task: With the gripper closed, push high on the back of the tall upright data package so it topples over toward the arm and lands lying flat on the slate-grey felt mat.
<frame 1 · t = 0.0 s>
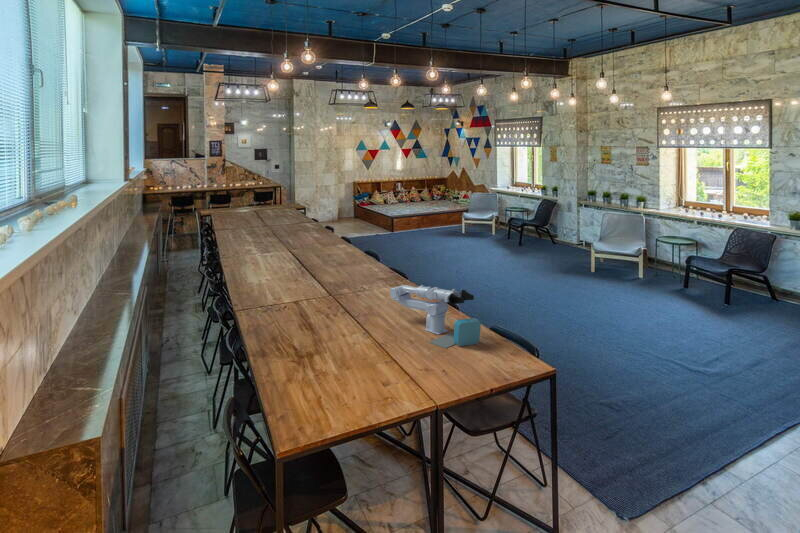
hand: (468, 299, 243), 22 cm above the table, tool horizontal, fingers open, 7 cm apart
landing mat: (452, 338, 251), on the table
data package: (466, 343, 245), on the table, touching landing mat
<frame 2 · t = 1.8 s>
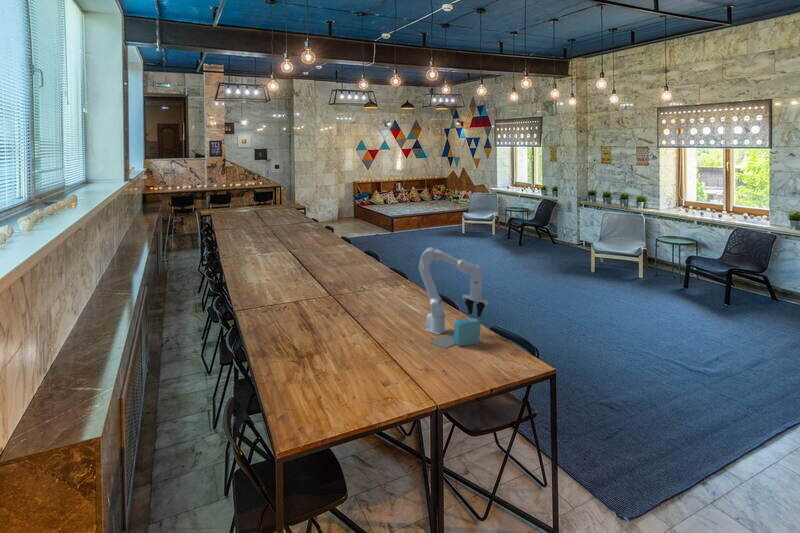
hand: (474, 315, 255), 10 cm above the table, tool pointing down, fingers open, 5 cm apart
nothing on the table moved.
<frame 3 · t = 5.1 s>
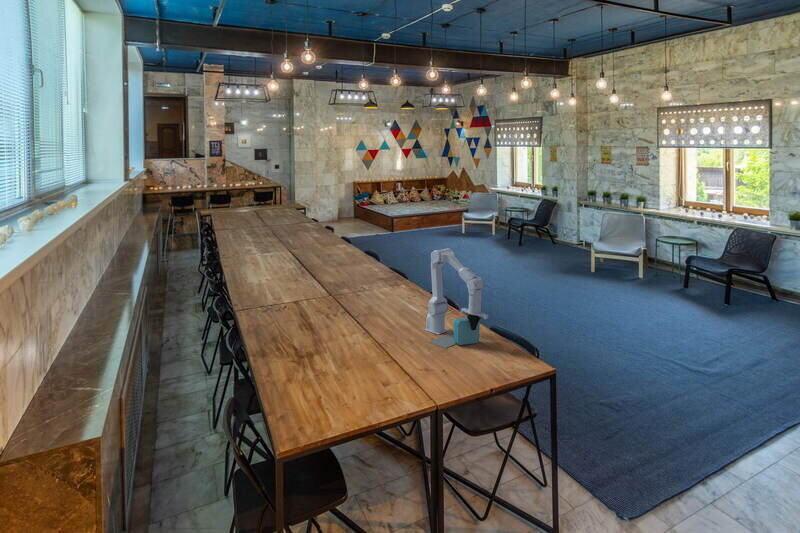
hand: (473, 329, 240), 8 cm above the table, tool pointing down, fingers closed
data package: (466, 343, 245), on the table, touching gripper, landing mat
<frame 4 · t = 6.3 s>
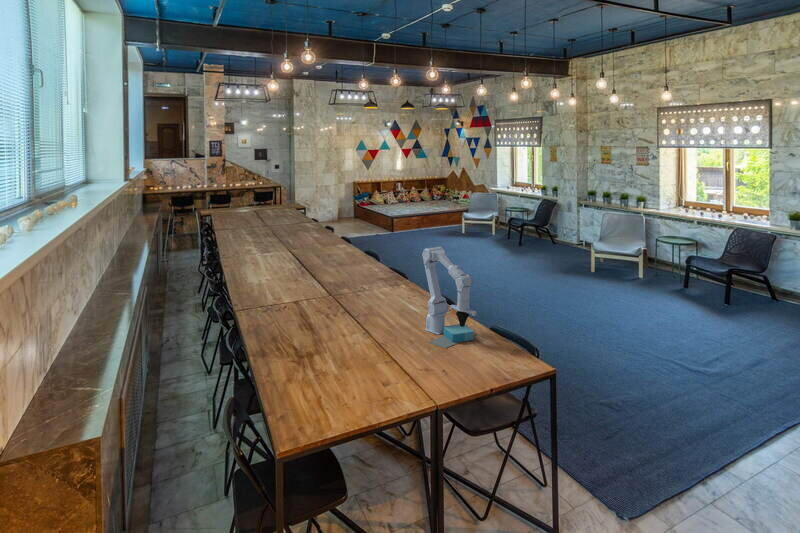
hand: (462, 326, 245), 8 cm above the table, tool pointing down, fingers closed
data package: (464, 337, 246), point 3 cm above the table, touching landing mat
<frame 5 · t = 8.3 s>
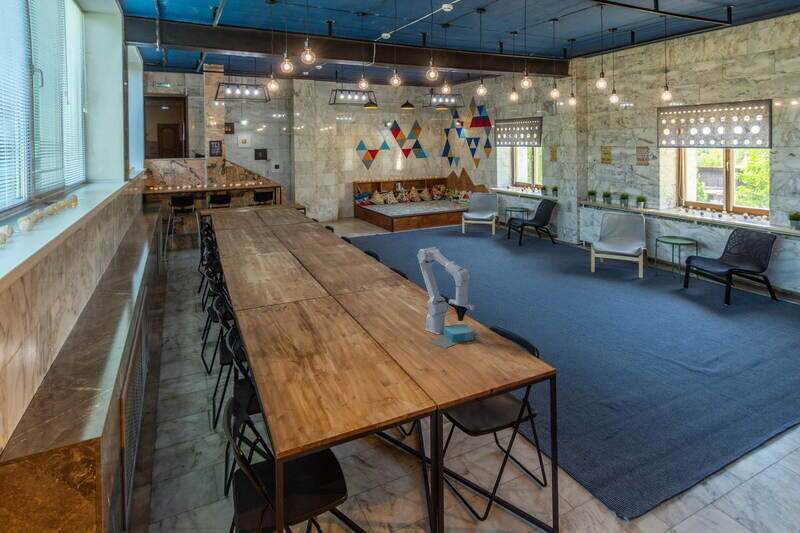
hand: (460, 320, 247), 10 cm above the table, tool pointing down, fingers closed
nothing on the table moved.
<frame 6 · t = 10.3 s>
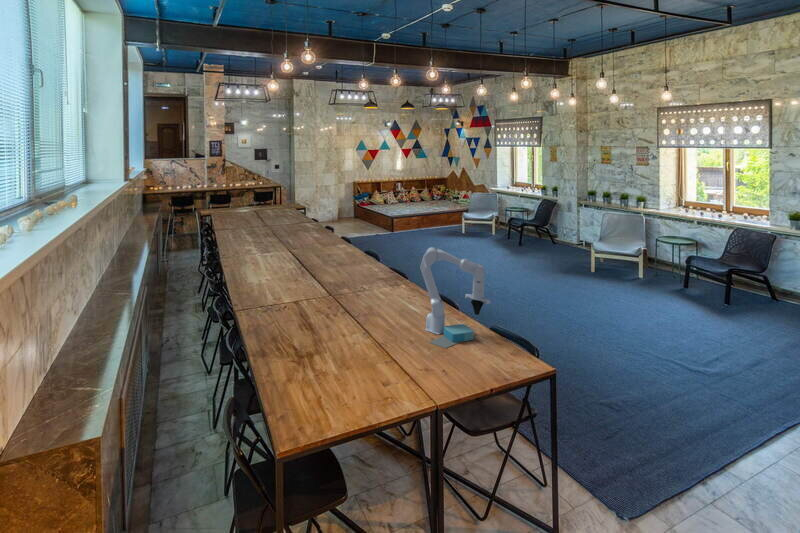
hand: (477, 314, 256), 10 cm above the table, tool pointing down, fingers closed
nothing on the table moved.
at the end: data package tilted 90°; data package touching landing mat; data package inside the target area (4.7 cm from its centre), point 2.6 cm above the table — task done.
